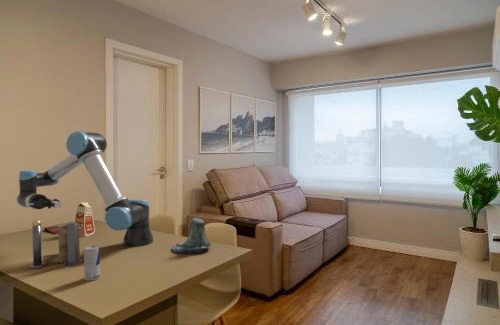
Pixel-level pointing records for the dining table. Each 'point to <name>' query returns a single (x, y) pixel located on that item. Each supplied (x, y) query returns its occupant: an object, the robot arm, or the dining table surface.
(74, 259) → the dark grey bar
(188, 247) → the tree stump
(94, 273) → the energy drink
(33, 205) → the robot arm
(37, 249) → the hinge post
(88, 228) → the milk carton
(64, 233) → the gate
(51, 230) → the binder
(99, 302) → the dining table surface
